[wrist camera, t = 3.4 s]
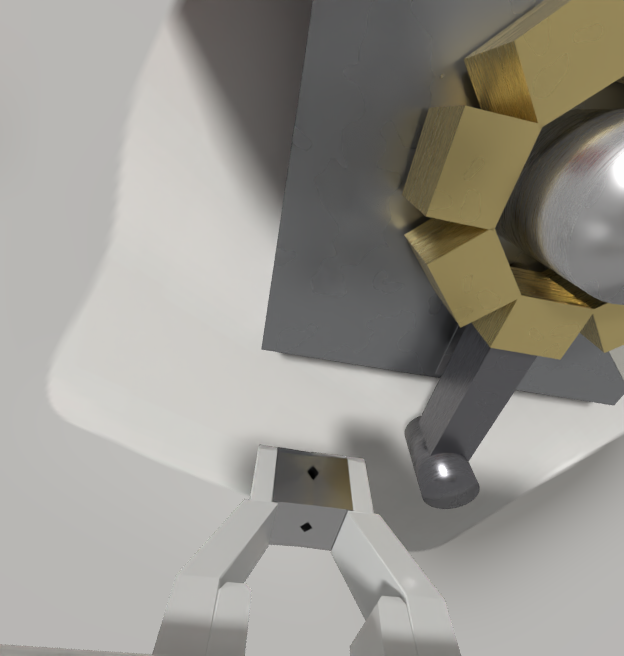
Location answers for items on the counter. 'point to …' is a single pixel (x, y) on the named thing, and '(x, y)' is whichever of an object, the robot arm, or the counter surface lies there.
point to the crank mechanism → (401, 216)
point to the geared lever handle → (480, 235)
